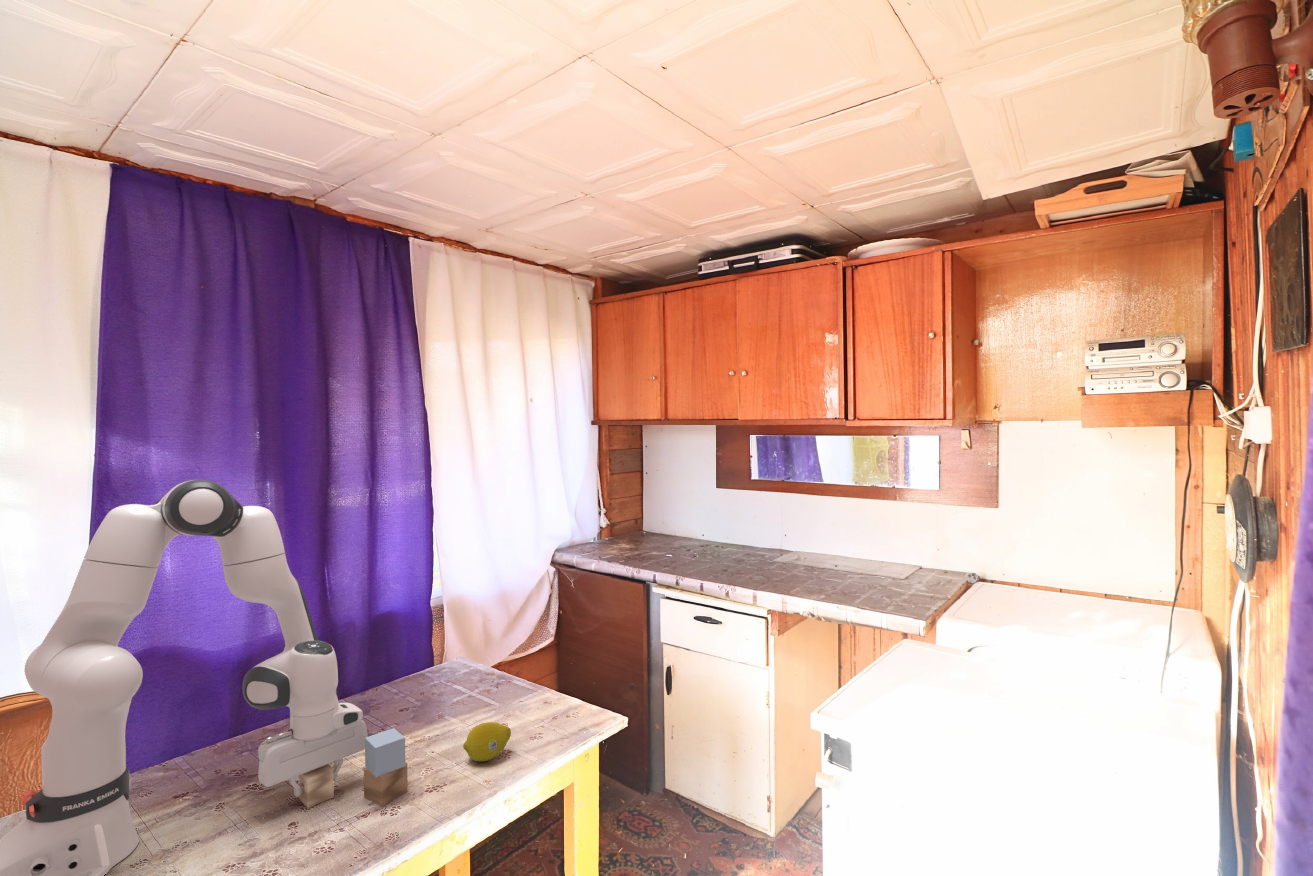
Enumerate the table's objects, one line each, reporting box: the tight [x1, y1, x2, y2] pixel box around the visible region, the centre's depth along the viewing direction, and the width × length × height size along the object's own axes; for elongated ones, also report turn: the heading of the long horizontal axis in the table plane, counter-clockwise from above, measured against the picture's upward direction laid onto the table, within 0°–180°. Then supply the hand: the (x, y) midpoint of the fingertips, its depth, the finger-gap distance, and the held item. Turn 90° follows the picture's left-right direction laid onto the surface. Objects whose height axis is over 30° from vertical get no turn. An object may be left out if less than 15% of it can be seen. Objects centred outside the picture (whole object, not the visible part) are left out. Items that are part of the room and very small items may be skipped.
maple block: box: [297, 763, 335, 809], centre depth 129 cm, size 5×5×6 cm
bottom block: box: [363, 761, 409, 807], centre depth 130 cm, size 6×6×6 cm
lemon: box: [462, 721, 512, 763], centre depth 144 cm, size 11×8×8 cm
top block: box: [364, 727, 407, 777], centre depth 130 cm, size 6×6×6 cm
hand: (316, 787), depth 129 cm, fingers closed on maple block, 5 cm apart
